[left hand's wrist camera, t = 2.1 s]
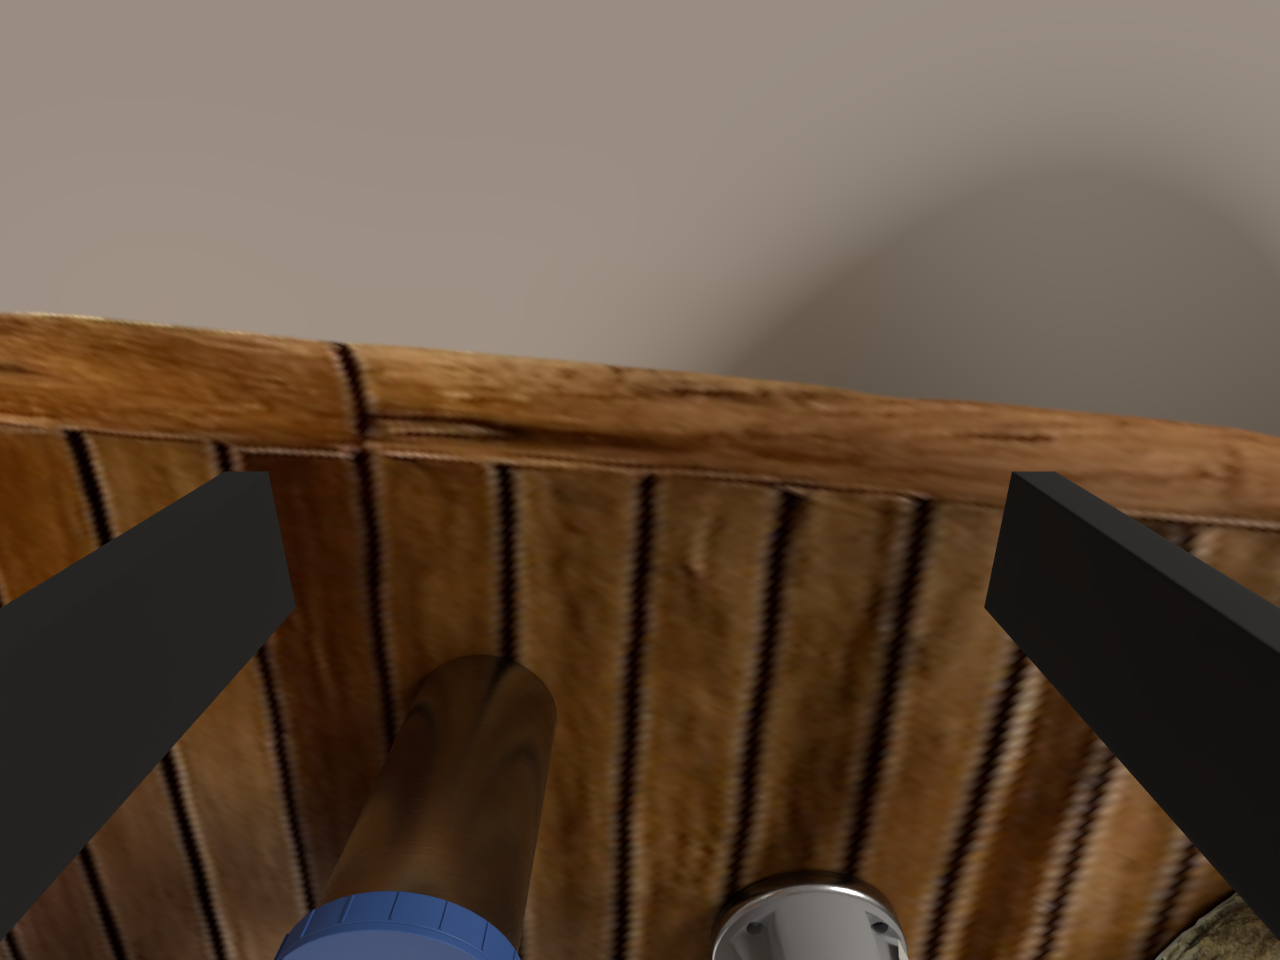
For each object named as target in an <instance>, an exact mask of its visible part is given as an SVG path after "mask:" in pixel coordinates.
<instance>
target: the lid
mask: <svg viewBox="0 0 1280 960" xmlns="http://www.w3.org/2000/svg"><path fill="white" fill-rule="evenodd" d="M274 960H520V958H519V956H518V954H517V951H516V950H515V949H514V947H513V946H512V945H511V943H510V942H509V941H508V939H507V938H506V937H505V936H504V935H503V934H502V933H501V932H500V931H499V930H498V929H497V928H496V927H494V926H493V925H492V924H491V923H489V922H488V921H487V920H485V919H484V918H482V917H480V916H479V915H477V914H475V913H474V912H472V911H470V910H468V909H466V908H464V907H462V906H459V905H457V904H455V903H452V902H449V901H446V900H443V899H440V898H436V897H432V896H428V895H424V894H418V893H411V892H400V891H375V892H366V893H359V894H354V895H350V896H346V897H342V898H339V899H336V900H334V901H331V902H328V903H326V904H324V905H322V906H320V907H318V908H316V909H315V910H314V909H313V910H312V911H311V912H310V913H309V914H308V915H306V916H305V917H304V918H302V919H301V920H300V921H299V922H298V923H297V924H296V925H295V926H294V928H293V929H292V930H291V932H290V933H289V934H286V936H285V938H284V940H283V942H282V944H281V946H280V948H279V950H278V952H277V954H276V956H275V958H274Z"/></svg>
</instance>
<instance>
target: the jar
mask: <svg viewBox="0 0 1280 960" xmlns="http://www.w3.org/2000/svg"><path fill="white" fill-rule="evenodd" d="M556 717H557V715H556V708H555V704H554V701H553V698H552V696H551V694H550V692H549V691H548V689H547V687H546V686H545V685H544V684H543V682H542V681H541V680H540V679H539V678H538V677H537V676H536V675H535V674H533V673H532V672H531V671H529V670H528V669H526V668H525V667H523V666H521V665H519V664H517V663H515V662H512V661H510V660H507V659H503V658H500V657H494V656H485V655H475V656H466V657H461V658H457V659H454V660H451V661H449V662H447V663H445V664H443V665H441V666H439V667H438V668H436V669H435V670H434V671H433V672H431V673H430V674H429V675H428V676H427V678H426V679H425V680H424V681H423V683H422V684H421V686H420V688H419V690H418V692H417V694H416V697H415V699H414V701H413V703H412V705H411V707H410V709H409V711H408V714H407V716H406V718H405V720H404V722H403V724H402V726H401V729H400V731H399V733H398V735H397V737H396V739H395V741H394V743H393V746H392V748H391V750H390V752H389V754H388V756H387V758H386V760H385V763H384V765H383V767H382V769H381V771H380V773H379V775H378V778H377V780H376V782H375V784H374V786H373V788H372V790H371V792H370V795H369V797H368V799H367V801H366V803H365V805H364V807H363V809H362V812H361V814H360V816H359V818H358V820H357V822H356V824H355V826H354V829H353V831H352V833H351V835H350V837H349V839H348V841H347V844H346V846H345V848H344V850H343V852H342V854H341V856H340V858H339V861H338V863H337V865H336V867H335V869H334V871H333V873H332V875H331V878H330V880H329V882H328V884H327V886H326V888H325V890H324V893H323V895H322V897H321V899H320V901H319V903H318V905H317V907H316V908H318V907H320V906H322V905H324V904H326V903H328V902H331V901H334V900H336V899H339V898H342V897H346V896H350V895H354V894H359V893H366V892H375V891H400V892H411V893H418V894H424V895H428V896H432V897H436V898H440V899H443V900H446V901H449V902H452V903H455V904H457V905H459V906H462V907H464V908H466V909H468V910H470V911H472V912H474V913H475V914H477V915H479V916H480V917H482V918H484V919H485V920H487V921H488V922H489V923H491V924H492V925H493V926H494V927H496V928H497V929H498V930H499V931H500V932H501V933H502V934H503V935H504V936H505V937H506V938H507V939H508V941H509V942H510V943H511V945H512V946H513V947H514V949H515V950H516V951H517V954H518V951H519V945H520V939H521V933H522V927H523V921H524V915H525V908H526V902H527V896H528V890H529V884H530V878H531V872H532V866H533V860H534V854H535V848H536V842H537V836H538V830H539V824H540V818H541V812H542V806H543V800H544V794H545V788H546V782H547V776H548V770H549V764H550V758H551V752H552V746H553V740H554V734H555V728H556Z"/></svg>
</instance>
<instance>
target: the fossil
mask: <svg viewBox="0 0 1280 960" xmlns="http://www.w3.org/2000/svg"><path fill="white" fill-rule="evenodd" d="M1155 960H1280V941H1279V940H1278V939H1277V938H1276V937H1275V935H1274V934H1273V933H1272V932H1271V931H1270V930H1269V929H1268V928H1267V926H1266V925H1265V924H1264V923H1263V922H1262V921H1261V920H1260V919H1259V917H1258V916H1257V915H1256V914H1255V913H1254V912H1253V911H1252V910H1251V908H1250V907H1249V906H1248V905H1247V904H1246V903H1245V902H1244V900H1243V899H1242V898H1241V897H1240V896H1239V895H1238V894H1237V893H1235V894H1234V895H1232V896H1231V897H1230V898H1229V899H1227V900H1226V901H1224V902H1222V903H1221V904H1219V905H1218V906H1217V907H1216V908H1214V909H1213V910H1212V911H1210V912H1209V913H1208V914H1207V915H1205V916H1203V917H1202V918H1200V919H1199V920H1198V921H1197V923H1196V924H1195V926H1193V927H1191V928H1190V929H1188V930H1186V931H1185V932H1183V933H1182V934H1181V935H1180V936H1178V937H1177V938H1176V939H1175V940H1174V941H1173V942H1172V943H1171V944H1170V945H1169V946H1168V947H1167V948H1166V949H1165V950H1164V951H1163V952H1162V953H1160V955H1159V956H1158V957H1157V958H1156V959H1155Z"/></svg>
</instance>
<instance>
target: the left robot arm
mask: <svg viewBox="0 0 1280 960" xmlns="http://www.w3.org/2000/svg"><path fill="white" fill-rule="evenodd" d="M295 608H296V607H295V602H294V597H293V592H292V587H291V582H290V577H289V573H288V568H287V563H286V558H285V553H284V548H283V543H282V538H281V533H280V528H279V524H278V519H277V514H276V509H275V504H274V499H273V494H272V489H271V484H270V479H269V475H268V472H223V473H222V474H220V475H218V476H217V477H215V478H213V479H212V480H210V481H208V482H207V483H205V484H204V485H202V486H200V487H199V488H197V489H195V490H194V491H192V492H190V493H189V494H187V495H186V496H184V497H182V498H181V499H179V500H177V501H176V502H174V503H172V504H171V505H169V506H167V507H166V508H164V509H163V510H161V511H159V512H158V513H156V514H154V515H153V516H151V517H149V518H148V519H146V520H145V521H143V522H141V523H140V524H138V525H136V526H135V527H133V528H131V529H130V530H128V531H126V532H125V533H123V534H122V535H120V536H118V537H117V538H115V539H113V540H112V541H110V542H108V543H107V544H105V545H103V546H102V547H100V548H99V549H97V550H95V551H94V552H92V553H90V554H89V555H87V556H85V557H84V558H82V559H81V560H79V561H77V562H76V563H74V564H72V565H71V566H69V567H67V568H66V569H64V570H62V571H61V572H59V573H58V574H56V575H54V576H53V577H51V578H49V579H48V580H46V581H44V582H43V583H41V584H40V585H38V586H36V587H35V588H33V589H31V590H30V591H28V592H26V593H25V594H23V595H21V596H20V597H18V598H17V599H15V600H13V601H12V602H10V603H8V604H7V605H5V606H3V607H2V608H0V941H1V940H2V939H3V938H4V937H5V935H6V934H7V933H8V932H9V931H10V930H11V929H12V928H13V926H14V925H15V924H16V923H17V922H18V921H19V920H20V919H21V917H22V916H23V915H24V914H25V913H26V912H27V911H28V910H29V908H30V907H31V906H32V905H33V904H34V903H35V902H36V900H37V899H38V898H39V897H40V896H41V895H42V894H43V893H44V891H45V890H46V889H47V888H48V887H49V886H50V885H51V884H52V882H53V881H54V880H55V879H56V878H57V877H58V876H59V874H60V873H61V872H62V871H63V870H64V869H65V868H66V867H67V865H68V864H69V863H70V862H71V861H72V860H73V859H74V858H75V856H76V855H77V854H78V853H79V852H80V851H81V850H82V848H83V847H84V846H85V845H86V844H87V843H88V842H89V841H90V839H91V838H92V837H93V836H94V835H95V834H96V833H97V832H98V830H99V829H100V828H101V827H102V826H103V825H104V824H105V822H106V821H107V820H108V819H109V818H110V817H111V816H112V815H113V813H114V812H115V811H116V810H117V809H118V808H119V807H120V806H121V804H122V803H123V802H124V801H125V800H126V799H127V798H128V796H129V795H130V794H131V793H132V792H133V791H134V790H135V789H136V787H137V786H138V785H139V784H140V783H141V782H142V781H143V780H144V778H145V777H146V776H147V775H148V774H149V773H150V772H151V771H152V769H153V768H154V767H155V766H156V765H157V764H158V763H159V761H160V760H161V759H162V758H163V757H164V756H165V755H166V754H167V752H168V751H169V750H170V749H171V748H172V747H173V746H174V745H175V743H176V742H177V741H178V740H179V739H180V738H181V737H182V735H183V734H184V733H185V732H186V731H187V730H188V729H189V728H190V726H191V725H192V724H193V723H194V722H195V721H196V720H197V719H198V717H199V716H200V715H201V714H202V713H203V712H204V711H205V709H206V708H207V707H208V706H209V705H210V704H211V703H212V702H213V700H214V699H215V698H216V697H217V696H218V695H219V694H220V693H221V691H222V690H223V689H224V688H225V687H226V686H227V685H228V683H229V682H230V681H231V680H232V679H233V678H234V677H235V676H236V674H237V673H238V672H239V671H240V670H241V669H242V668H243V667H244V665H245V664H246V663H247V662H248V661H249V660H250V659H251V657H252V656H253V655H254V654H255V653H256V652H257V651H258V650H259V648H260V647H261V646H262V645H263V644H264V643H265V642H266V641H267V639H268V638H269V637H270V636H271V635H272V634H273V633H274V632H275V630H276V629H277V628H278V627H279V626H280V625H281V624H282V622H283V621H284V620H285V619H286V618H287V617H288V616H289V615H290V613H291V612H292V611H293V610H294V609H295ZM984 608H985V609H986V610H987V611H988V612H989V613H990V615H991V616H992V617H993V618H994V619H995V620H996V621H997V622H998V624H999V625H1000V626H1001V627H1002V628H1003V629H1004V630H1005V632H1006V633H1007V634H1008V635H1009V636H1010V637H1011V638H1012V639H1013V641H1014V642H1015V643H1016V644H1017V645H1018V646H1019V647H1020V648H1021V650H1022V651H1023V652H1024V653H1025V654H1026V655H1027V656H1028V657H1029V659H1030V660H1031V661H1032V662H1033V663H1034V664H1035V665H1036V667H1037V668H1038V669H1039V670H1040V671H1041V672H1042V673H1043V674H1044V676H1045V677H1046V678H1047V679H1048V680H1049V681H1050V682H1051V683H1052V685H1053V686H1054V687H1055V688H1056V689H1057V690H1058V691H1059V693H1060V694H1061V695H1062V696H1063V697H1064V698H1065V699H1066V700H1067V702H1068V703H1069V704H1070V705H1071V706H1072V707H1073V708H1074V709H1075V711H1076V712H1077V713H1078V714H1079V715H1080V716H1081V717H1082V719H1083V720H1084V721H1085V722H1086V723H1087V724H1088V725H1089V726H1090V728H1091V729H1092V730H1093V731H1094V732H1095V733H1096V734H1097V735H1098V737H1099V738H1100V739H1101V740H1102V741H1103V742H1104V743H1105V745H1106V746H1107V747H1108V748H1109V749H1110V750H1111V751H1112V752H1113V754H1114V755H1115V756H1116V757H1117V758H1118V759H1119V760H1120V761H1121V763H1122V764H1123V765H1124V766H1125V767H1126V768H1127V769H1128V771H1129V772H1130V773H1131V774H1132V775H1133V776H1134V777H1135V778H1136V780H1137V781H1138V782H1139V783H1140V784H1141V785H1142V786H1143V787H1144V789H1145V790H1146V791H1147V792H1148V793H1149V794H1150V795H1151V796H1152V798H1153V799H1154V800H1155V801H1156V802H1157V803H1158V804H1159V806H1160V807H1161V808H1162V809H1163V810H1164V811H1165V812H1166V813H1167V815H1168V816H1169V817H1170V818H1171V819H1172V820H1173V821H1174V822H1175V824H1176V825H1177V826H1178V827H1179V828H1180V829H1181V830H1182V832H1183V833H1184V834H1185V835H1186V836H1187V837H1188V838H1189V839H1190V841H1191V842H1192V843H1193V844H1194V845H1195V846H1196V847H1197V848H1198V850H1199V851H1200V852H1201V853H1202V854H1203V855H1204V856H1205V858H1206V859H1207V860H1208V861H1209V862H1210V863H1211V864H1212V865H1213V867H1214V868H1215V869H1216V870H1217V871H1218V872H1219V873H1220V874H1221V876H1222V877H1223V878H1224V879H1225V880H1226V881H1227V882H1228V884H1229V885H1230V886H1231V887H1232V888H1233V889H1234V890H1235V891H1236V893H1237V894H1238V895H1239V896H1240V897H1241V898H1242V899H1243V900H1244V902H1245V903H1246V904H1247V905H1248V906H1249V907H1250V908H1251V910H1252V911H1253V912H1254V913H1255V914H1256V915H1257V916H1258V917H1259V919H1260V920H1261V921H1262V922H1263V923H1264V924H1265V925H1266V926H1267V928H1268V929H1269V930H1270V931H1271V932H1272V933H1273V934H1274V935H1275V937H1276V938H1277V939H1278V940H1279V941H1280V608H1278V607H1277V606H1275V605H1273V604H1272V603H1270V602H1268V601H1267V600H1265V599H1263V598H1262V597H1260V596H1259V595H1257V594H1255V593H1254V592H1252V591H1250V590H1249V589H1247V588H1245V587H1244V586H1242V585H1240V584H1239V583H1237V582H1236V581H1234V580H1232V579H1231V578H1229V577H1227V576H1226V575H1224V574H1222V573H1221V572H1219V571H1218V570H1216V569H1214V568H1213V567H1211V566H1209V565H1208V564H1206V563H1204V562H1203V561H1201V560H1199V559H1198V558H1196V557H1195V556H1193V555H1191V554H1190V553H1188V552H1186V551H1185V550H1183V549H1181V548H1180V547H1178V546H1177V545H1175V544H1173V543H1172V542H1170V541H1168V540H1167V539H1165V538H1163V537H1162V536H1160V535H1158V534H1157V533H1155V532H1154V531H1152V530H1150V529H1149V528H1147V527H1145V526H1144V525H1142V524H1140V523H1139V522H1137V521H1135V520H1134V519H1132V518H1131V517H1129V516H1127V515H1126V514H1124V513H1122V512H1121V511H1119V510H1117V509H1116V508H1114V507H1113V506H1111V505H1109V504H1108V503H1106V502H1104V501H1103V500H1101V499H1099V498H1098V497H1096V496H1094V495H1093V494H1091V493H1090V492H1088V491H1086V490H1085V489H1083V488H1081V487H1080V486H1078V485H1076V484H1075V483H1073V482H1072V481H1070V480H1068V479H1067V478H1065V477H1063V476H1062V475H1060V474H1058V473H1057V472H1012V475H1011V479H1010V484H1009V489H1008V494H1007V499H1006V504H1005V509H1004V514H1003V519H1002V524H1001V528H1000V533H999V538H998V543H997V548H996V553H995V558H994V563H993V568H992V573H991V577H990V582H989V587H988V592H987V597H986V602H985V607H984ZM710 942H711V956H712V960H908V958H907V944H906V940H905V937H904V934H903V931H902V929H901V926H900V923H899V920H898V918H897V915H896V913H895V911H894V908H893V907H892V905H891V904H890V902H889V901H888V900H887V899H886V898H885V896H883V895H882V894H881V893H880V892H879V891H878V890H876V889H875V888H874V887H872V886H871V885H869V884H867V883H865V882H863V881H861V880H859V879H856V878H854V877H851V876H848V875H844V874H840V873H834V872H827V871H798V872H791V873H785V874H781V875H777V876H773V877H771V878H768V879H765V880H762V881H760V882H758V883H756V884H754V885H752V886H750V887H748V888H746V889H745V890H743V891H742V892H740V893H739V894H738V895H736V896H735V897H734V898H733V899H732V900H731V901H729V902H728V903H727V905H726V906H725V907H724V908H723V909H722V911H721V912H720V913H719V915H718V917H717V919H716V920H715V923H714V925H713V928H712V932H711V939H710Z"/></svg>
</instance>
